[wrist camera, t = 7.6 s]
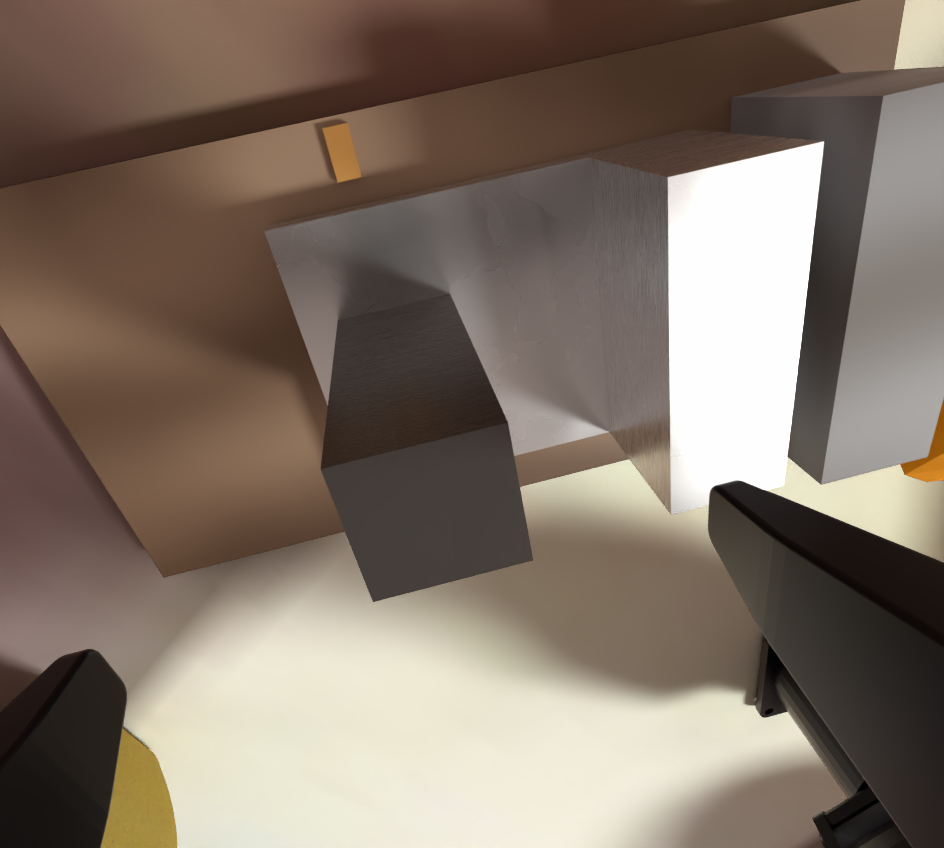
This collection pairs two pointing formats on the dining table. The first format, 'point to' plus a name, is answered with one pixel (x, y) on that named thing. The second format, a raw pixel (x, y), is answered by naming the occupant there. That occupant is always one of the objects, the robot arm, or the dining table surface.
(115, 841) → the flower pot
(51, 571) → the dining table surface
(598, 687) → the dining table surface
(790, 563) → the robot arm
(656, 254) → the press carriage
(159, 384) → the press base
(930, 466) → the corn
